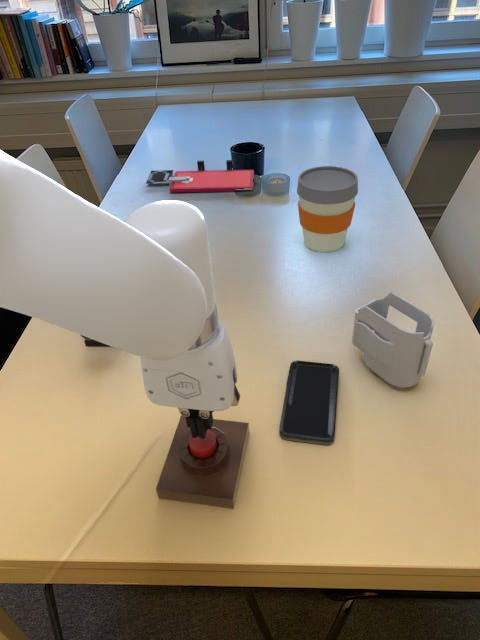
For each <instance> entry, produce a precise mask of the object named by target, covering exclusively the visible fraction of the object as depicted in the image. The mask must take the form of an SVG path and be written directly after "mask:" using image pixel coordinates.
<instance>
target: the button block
mask: <svg viewBox="0 0 480 640" xmlns="http://www.w3.org/2000/svg"><path fill="white" fill-rule="evenodd" d="M211 431H212V432H213V433H214V434H215V436H216V442H217V450H216V452H215V454H214V455H213V456H211V457H209V458H207V459H198V458H195V457H194V456H193V455H192V454H191V452H190V447H189V437H190V435H191V429H190V427H187V423H186V418H185V417H184V416H182V415H181V414H180V417H179V419H178V423H177V426H176V429H175V432H174V434H173V437H172V441H171V444H170V446H169V449H168V452H167V455H166V459H165V461H164V464H163V467H162V470H161V473H160V476H159V479H158V481H157V485H156V488H155V491H156V494H157V497H158V499H162V500H169V501H176V502H181V503H191V504H198V505H203V506H204V505H205V506H211V507H220V508H224V509H225V508H226V509H233V510H234V509H235V506H236V505H235V504H236V500H237V496H238V490H239V485H240V480H241V475H242V471H243V470H242V469H243V466H244V460H245V457H246V456H245V454H246V450H247V446H248V441H249V436H250V423H249V422H245V421H235V420H226V419H217V418H213V425H212V429H211Z"/></svg>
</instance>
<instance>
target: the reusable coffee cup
mask: <svg viewBox="0 0 480 640" xmlns="http://www.w3.org/2000/svg"><path fill="white" fill-rule="evenodd" d="M358 178H359V177H358V175H357V174H356V173H355V172H354V171H353V170H352V169H351V170H350V169H348V168H347V167H346V168H345V167H341V166H335V165H323V166H314V167H312V168H311V167H310V168H307V169H305V170H304V171H302V172H301V173H300V174H299V175H298V179H297V186H296V192H297V195H298V201H297V209H298V219H299V224H300V226H301V229H302V238H303V245H305V247H306V248H307V249H310V250H311V251H314V252H317V253H331V252H332V253H333V252H336V251H338V250H340V249H342V248H343V246H344V245H345V241H346V238H347V234H348V229H349V227H350V226H351V224H352V220H353V217H354V212H355V209H356V201H355V199H356V196H358V193H359V179H358Z"/></svg>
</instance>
